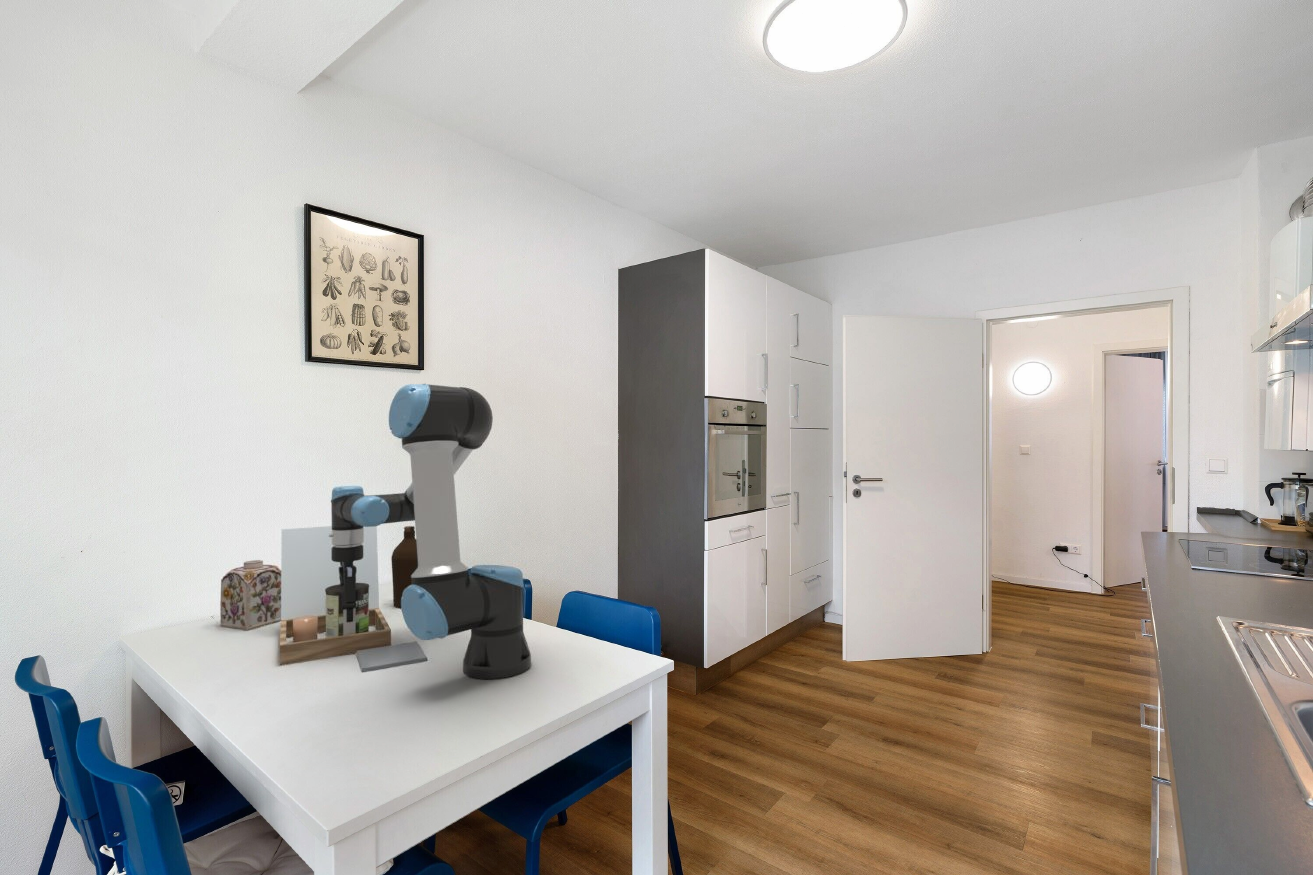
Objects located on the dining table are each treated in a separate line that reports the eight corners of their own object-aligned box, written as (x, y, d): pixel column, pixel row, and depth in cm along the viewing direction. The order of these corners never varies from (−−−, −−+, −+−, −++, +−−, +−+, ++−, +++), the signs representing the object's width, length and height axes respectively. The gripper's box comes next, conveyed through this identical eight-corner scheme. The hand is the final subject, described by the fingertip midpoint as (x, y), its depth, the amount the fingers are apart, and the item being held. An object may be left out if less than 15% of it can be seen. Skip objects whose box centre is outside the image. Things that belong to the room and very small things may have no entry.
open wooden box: (391, 647, 155) (391, 629, 155) (279, 665, 143) (279, 645, 143) (379, 623, 176) (379, 607, 176) (281, 637, 164) (281, 620, 164)
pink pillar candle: (317, 642, 159) (318, 619, 159) (292, 646, 157) (292, 622, 157) (317, 636, 164) (317, 614, 164) (292, 640, 161) (292, 617, 161)
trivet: (427, 660, 145) (427, 657, 145) (361, 672, 138) (361, 668, 138) (416, 644, 157) (416, 641, 157) (356, 654, 150) (356, 650, 150)
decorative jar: (246, 631, 169) (247, 566, 170) (218, 626, 174) (218, 563, 174) (286, 619, 181) (287, 558, 181) (259, 615, 185) (259, 556, 185)
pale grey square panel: (376, 523, 182) (375, 524, 183) (281, 529, 169) (281, 530, 171) (379, 607, 176) (378, 608, 177) (281, 620, 164) (281, 620, 165)
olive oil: (386, 609, 191) (386, 529, 192) (398, 600, 202) (398, 524, 202) (420, 608, 192) (420, 528, 192) (431, 600, 203) (431, 524, 203)
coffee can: (376, 634, 166) (376, 582, 166) (356, 647, 156) (356, 591, 156) (338, 634, 166) (338, 582, 166) (316, 646, 156) (316, 591, 156)
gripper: (328, 540, 170) (328, 618, 169) (334, 553, 149) (334, 642, 149) (359, 537, 173) (358, 614, 173) (368, 550, 153) (368, 637, 153)
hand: (347, 627), depth 161 cm, fingers open, 12 cm apart
